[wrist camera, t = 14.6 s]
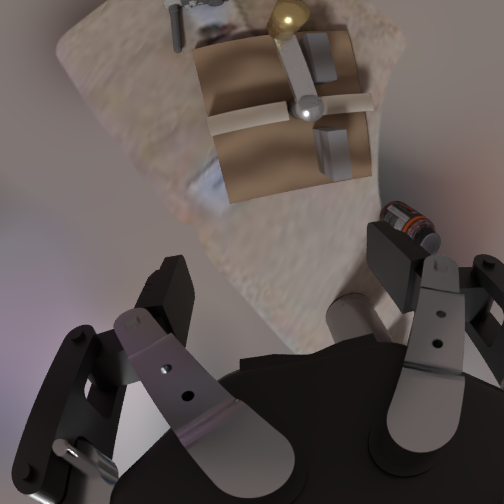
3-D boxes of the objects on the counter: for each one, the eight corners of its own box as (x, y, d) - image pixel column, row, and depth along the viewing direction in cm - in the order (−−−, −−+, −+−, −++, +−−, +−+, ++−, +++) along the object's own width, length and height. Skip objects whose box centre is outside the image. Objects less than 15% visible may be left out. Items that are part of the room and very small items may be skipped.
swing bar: (324, 117, 29) (348, 119, 23) (299, 124, 29) (317, 127, 23) (287, 17, 23) (302, -5, 17) (261, 23, 23) (269, 0, 17)
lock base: (367, 173, 39) (392, 186, 32) (230, 200, 40) (230, 219, 33) (343, 32, 29) (366, 19, 22) (193, 52, 29) (184, 38, 23)
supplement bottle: (412, 206, 42) (452, 234, 32) (397, 237, 44) (433, 270, 34) (387, 194, 41) (428, 220, 31) (372, 226, 43) (407, 260, 33)
